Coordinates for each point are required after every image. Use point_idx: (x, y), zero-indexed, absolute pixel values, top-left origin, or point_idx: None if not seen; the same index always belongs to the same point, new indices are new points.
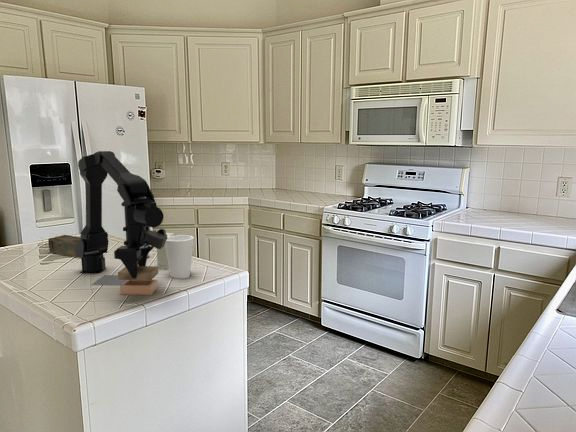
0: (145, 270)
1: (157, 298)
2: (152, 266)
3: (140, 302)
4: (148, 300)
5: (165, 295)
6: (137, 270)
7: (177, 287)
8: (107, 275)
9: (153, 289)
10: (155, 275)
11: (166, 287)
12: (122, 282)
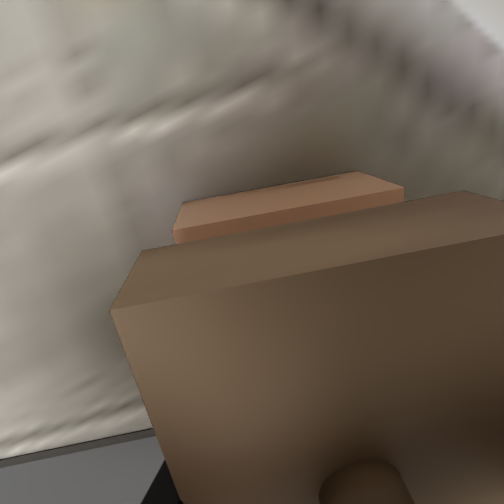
0: (416, 379)
1: (407, 87)
2: (157, 395)
3: (491, 186)
4: (453, 145)
5: (327, 43)
6: (420, 471)
7: (68, 15)
8: None
9: (309, 188)
10: (275, 228)
11: (111, 144)
12: (146, 489)
